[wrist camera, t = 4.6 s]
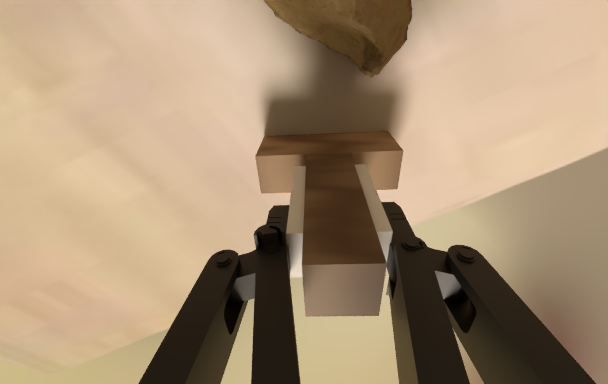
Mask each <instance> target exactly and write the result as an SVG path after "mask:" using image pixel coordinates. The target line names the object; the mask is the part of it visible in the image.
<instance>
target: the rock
mask: <svg viewBox="0 0 608 384" xmlns="http://www.w3.org/2000/svg"><path fill="white" fill-rule="evenodd" d="M264 1H265V2H266V4H267V5H268V6H269V7H270V8H271V9H272V10H273V11H274V14H275V16H277V17H278V18H280V19H282V20H283V21H284V22H286V23H288V24H289V25H291V26H292V27H293V28H295V30H297V31H298V32H299V33H303V34H305V35H307V36H308V37H309V38H312V39H318V40H319V41H320V42H322V43H324V44H326V45H327V47H328V48H330V49H332V50H334V51H337V52H339V53H342V54H345V55H348V56H350V58H351V59H352V60H353V62H354V63H355V64H356V65H357V66H358V68H359V69H360V71H362V72H363V73H364V74H365V75H366V74H367V75H368V76H370V77H373V76H374V75H377V74H379V73H380V71H381V70H382V69H383V67H384V66H385V65H386V64H387V63H388V62H389V60H390V59H391V58H392V56H393V55H394V54H395V53H396V52H397V51H398V50H399V49H400V48H401V46H402V45H403V44H404V43H405V41H406V40H407V30H408V25H409V23H410V21H411V18H412V7H411V0H264Z"/></svg>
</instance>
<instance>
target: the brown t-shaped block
mask: <svg viewBox="0 0 608 384" xmlns="http://www.w3.org/2000/svg"><path fill="white" fill-rule="evenodd" d="M402 155H403V150H402V148H401V147H400V146H399V145H398V143H397V142H396V141H395V139H394V138H393V137H392V136H391V134H390V133H389V132H388V131H386V132H362V133H338V134H314V135H290V136H266V137H264V138H263V141H262V143H261V145H260V147H259V149H258V152H257V154H256V156H255V157H256V163H257V169H258V176H259V182H260V188H261V193H290V192H291V190H292V182H293V174H294V167H296V166H306V173H305V198H304V222H303V246H302V275H303V287H304V301H305V313H306V316H379V311H380V304H381V298H382V291H383V285H384V278H385V272H386V266H387V262H386V259H385V256H384V253H383V250H382V247H381V244H380V241H379V238H378V235H377V232H376V229H375V226H374V223H373V220H372V216H371V213H370V210H369V207H368V204H367V201H366V198H365V195H364V192H363V189H362V186H361V183H360V180H359V177H358V174H357V171H356V168H355V165H358V164H366V166H367V169H368V171H369V174H370V176H371V179H372V181H373V184H374V186H375V189H376V190H386V189H397V188H398V181H399V175H400V168H401V162H402Z"/></svg>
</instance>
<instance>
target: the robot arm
mask: <svg viewBox="0 0 608 384" xmlns="http://www.w3.org/2000/svg"><path fill="white" fill-rule="evenodd" d="M355 168H356V171H357V174H358V177H359V180H360V183H361V186H362V189H363V192H364V195H365V198H366V201H367V204H368V207H369V210H370V213H371V216H372V220H373V223H374V226H375V229H376V232H377V235H378V238H379V241H380V244H381V247H382V250H383V253H384V256H385V259H386V262H387V266H386V270H388V273H389V281H388V287H387V293H386V295H389V297H390V305H391V314H392V323H393V332H394V340H395V350H396V359H397V368H398V377H399V384H470V383H469V379H468V376H467V373H466V370H465V367H464V363H463V360H462V357H461V354H460V350H459V347H458V344H457V341H456V338H455V334H454V331H455V333H456V334H457V336H458V338H459V340H460V342H461V343H462V345H463V347H464V348H465V350H466V352H467V354H468V355H469V357H470V359H471V361H472V362H473V364H474V366H475V368H476V370H477V371H478V373H479V375H480V377H481V378H482V380H483V382H484V384H596V383H595V382H594V381H593V380H592V378H591V377H590V376H589V375H588V374H587V373H586V372H585V371H584V369H583V368H582V367H581V366H580V365H579V364H578V363H577V362H576V360H575V359H574V358H573V357H572V356H571V355H570V354H569V353H568V351H567V350H566V349H565V348H564V347H563V346H562V345H561V344H560V342H558V340H557V339H556V338H555V337H554V336H553V335H552V333H551V332H550V331H549V330H548V329H547V328H546V327H545V326H544V324H543V323H542V322H541V321H540V320H539V319H538V318H537V317H536V315H535V314H534V313H533V312H532V311H531V310H530V309H529V308H528V306H527V305H526V304H525V303H524V302H523V301H522V300H521V298H520V297H519V296H518V295H517V294H516V293H515V292H514V291H513V289H512V288H511V287H510V286H509V285H508V284H507V283H506V282H505V280H504V279H503V278H502V277H501V276H500V275H499V274H498V273H497V271H496V270H495V269H494V268H493V267H492V266H491V265H490V264H489V263H488V261H487V260H486V259H485V258H484V257H483V256H482V255H481V254H480V253H479V252H478V251H477V250H475V249H473V248H471V247H468V246H464V245H455V246H451V247H450V248H449V249H448V252H445V251H440V250H435V249H432V248H429V247H427V245H426V244H425V242H424V241H422V240H421V239H420V238H417V237H416V236H415V235H414V232H413V231H412V229H411V227H410V225H409V223H408V221H407V220H406V217H405V215H404V213H403V211H402V209H401V207H400V206H399V205H397V204H396V203H395V202H381V201H380V198H379V196H378V194H377V191H376V189H375V186H374V184H373V181H372V179H371V176H370V174H369V171H368V169H367V166H366V164H358V165H355ZM305 173H306V166H296V167H294V174H293V182H292V190H291V198H290V205H279V206H273V208H272V209H271V210H270V211H269V214H268V219H267V223H266V225H263V226H261V227H259V228H258V229H257V230H256V231H255V233H254V239H255V244H256V250H254V251H252V252H250V253H247V254H243V255H239V256H238V253H237V252H235V251H233V250H222V251H219V252H217V253H215V254H214V255H212V256H211V258H210V259H209V260H208V262H207V264H206V265H205V267H204V269H203V271H202V272H201V274H200V276H199V278H198V280H197V281H196V283H195V285H194V287H193V288H192V290H191V292H190V294H189V295H188V297H187V299H186V301H185V302H184V304H183V306H182V308H181V310H180V311H179V313H178V315H177V317H176V318H175V320H174V322H173V324H172V325H171V327H170V329H169V331H168V332H167V334H166V336H165V338H164V340H163V341H162V343H161V345H160V347H159V348H158V350H157V352H156V354H155V355H154V357H153V359H152V361H151V363H150V364H149V366H148V368H147V370H146V372H145V373H144V375H143V377H142V379H141V380H140V382H139V384H220V383H221V380H222V377H223V374H224V371H225V368H226V365H227V362H228V359H229V356H230V353H231V350H232V347H233V344H234V341H235V338H236V335H237V332H238V330H239V327H240V324H241V320H242V317H243V314H244V312H245V309H246V306H247V303H248V300H250V299H253V298H255V302H254V327H253V353H252V380H251V384H300V376H299V365H298V355H297V345H296V335H295V326H294V316H293V306H292V297H291V287H290V276H291V277H303V275H302V246H303V222H304V198H305ZM385 276H386V272H385ZM452 327H453V328H452ZM453 329H454V331H453Z"/></svg>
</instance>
